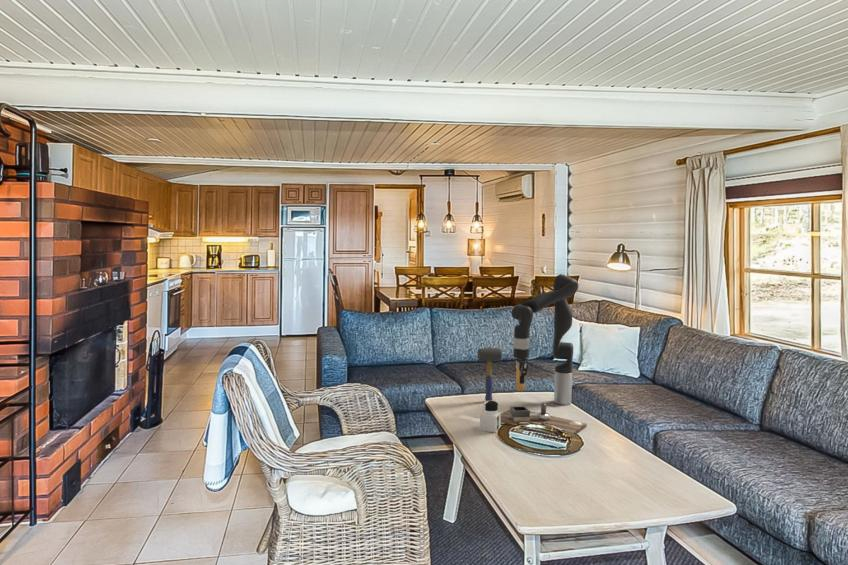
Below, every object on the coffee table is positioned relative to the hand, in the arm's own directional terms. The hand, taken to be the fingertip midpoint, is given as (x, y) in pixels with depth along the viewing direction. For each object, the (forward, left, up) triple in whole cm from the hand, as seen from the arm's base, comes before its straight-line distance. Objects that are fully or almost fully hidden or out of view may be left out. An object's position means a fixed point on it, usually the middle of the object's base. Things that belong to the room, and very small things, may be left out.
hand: (520, 382), depth 258 cm
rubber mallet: (-20, -30, -20) cm, 41 cm away
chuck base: (-3, +8, -20) cm, 22 cm away
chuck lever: (-4, +4, -18) cm, 19 cm away
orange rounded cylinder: (0, 0, -4) cm, 4 cm away
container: (+17, -7, -20) cm, 27 cm away
